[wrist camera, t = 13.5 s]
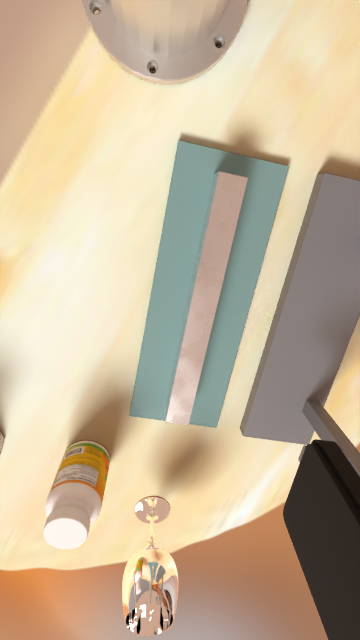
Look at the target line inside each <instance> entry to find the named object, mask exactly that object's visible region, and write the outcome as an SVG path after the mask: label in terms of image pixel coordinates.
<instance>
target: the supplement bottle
mask: <svg viewBox="0 0 360 640" xmlns="http://www.w3.org/2000/svg"><path fill="white" fill-rule="evenodd" d="M109 463H110V458H109V454H108V452H107V450H106V449H105V448H104V447H103V446H102V445H100V444H98V443H96V442H93V441H79V442H76V443H74V444H72V445H71V446H70V447H69V448H68V449H67V450H66V451H65V453H64V456H63V458H62V461H61V464H60V466H59V469H58V471H57V474H56V477H55V479H54V482H53V485H52V487H51V490H50V493H49V495H48V498H47V501H46V514H47V516H48V518H47V521H46V524H45V527H44V531H43V534H44V538H45V540H46V541H47V542H48V543H49V544H50V545H52V546H54V547H56V548H59V549H72V548H76V547H78V546H80V545H81V544H83V543H84V542H85V540H86V538H87V536H88V532H89V527H90V524H92V523H93V522H94V521H95V520H96V519H97V517H98V515H99V513H100V510H101V505H102V500H103V495H104V490H105V485H106V480H107V475H108V469H109Z"/></svg>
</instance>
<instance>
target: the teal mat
mask: <svg viewBox="0 0 360 640" xmlns="http://www.w3.org/2000/svg"><path fill="white" fill-rule="evenodd" d="M288 168H289V166H286V165H281V164H277V163H273V162H269V161H264V160H260V159H256V158H252V157H247V156H243V155H239V154H235V153H230V152H226V151H222V150H218V149H213V148H209V147H205V146H201V145H196V144H192V143H188V142H184V141H179V140H178V145H177V151H176V156H175V162H174V168H173V173H172V179H171V185H170V190H169V196H168V201H167V207H166V213H165V218H164V224H163V229H162V235H161V241H160V246H159V252H158V258H157V263H156V269H155V274H154V280H153V286H152V291H151V297H150V303H149V308H148V314H147V319H146V325H145V331H144V336H143V342H142V348H141V353H140V359H139V364H138V370H137V376H136V381H135V387H134V392H133V398H132V404H131V409H130V415H129V416H134V417H141V418H148V419H156V420H163V421H165V403H166V399H167V394H168V389H169V384H170V380H171V375H172V370H173V365H174V361H175V356H176V351H177V346H178V342H179V337H180V332H181V327H182V323H183V318H184V313H185V308H186V304H187V299H188V294H189V289H190V285H191V280H192V275H193V270H194V266H195V261H196V256H197V251H198V246H199V242H200V237H201V232H202V227H203V223H204V218H205V213H206V208H207V204H208V199H209V194H210V189H211V185H212V180H213V175H214V174H215V173H217V172H219V171H220V172H224V173H229V174H233V175H238V176H242V177H247V178H248V180H247V184H246V188H245V192H244V197H243V201H242V205H241V209H240V213H239V217H238V221H237V226H236V230H235V234H234V238H233V242H232V246H231V250H230V255H229V259H228V263H227V267H226V271H225V275H224V279H223V284H222V288H221V292H220V296H219V300H218V304H217V308H216V313H215V317H214V321H213V325H212V329H211V333H210V337H209V342H208V346H207V350H206V354H205V358H204V362H203V366H202V371H201V375H200V379H199V383H198V387H197V391H196V395H195V400H194V404H193V408H192V412H191V416H190V420H189V424H193V425H200V426H208V427H215V428H216V426H217V423H218V419H219V415H220V412H221V408H222V405H223V401H224V398H225V394H226V390H227V387H228V383H229V380H230V376H231V372H232V369H233V365H234V362H235V358H236V354H237V351H238V347H239V344H240V340H241V337H242V333H243V329H244V326H245V322H246V319H247V315H248V311H249V308H250V304H251V301H252V297H253V293H254V290H255V286H256V283H257V279H258V276H259V272H260V268H261V265H262V261H263V258H264V254H265V250H266V247H267V243H268V240H269V236H270V232H271V229H272V225H273V222H274V218H275V214H276V211H277V207H278V204H279V200H280V197H281V193H282V189H283V186H284V182H285V179H286V175H287V171H288Z"/></svg>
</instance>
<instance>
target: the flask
mask: <svg viewBox="0 0 360 640" xmlns="http://www.w3.org/2000/svg"><path fill="white" fill-rule="evenodd" d="M3 441H4V437H3V435H2V434H1V432H0V452H1V449H2V445H3Z"/></svg>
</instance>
